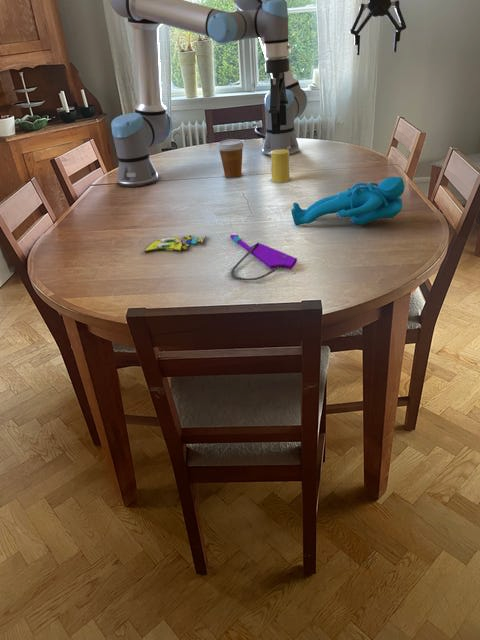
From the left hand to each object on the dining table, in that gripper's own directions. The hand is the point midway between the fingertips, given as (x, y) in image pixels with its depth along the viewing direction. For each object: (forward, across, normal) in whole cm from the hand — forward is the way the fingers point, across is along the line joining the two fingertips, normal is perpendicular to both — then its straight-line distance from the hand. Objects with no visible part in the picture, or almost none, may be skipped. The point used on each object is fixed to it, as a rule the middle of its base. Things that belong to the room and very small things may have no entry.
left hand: (279, 129), depth 162 cm
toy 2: (+17, -40, -24) cm, 50 cm away
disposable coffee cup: (+17, +6, +19) cm, 26 cm away
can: (+17, 0, 0) cm, 17 cm away
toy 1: (+17, -57, +20) cm, 63 cm away
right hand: (-17, +45, -31) cm, 57 cm away
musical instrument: (+17, -65, -2) cm, 67 cm away
